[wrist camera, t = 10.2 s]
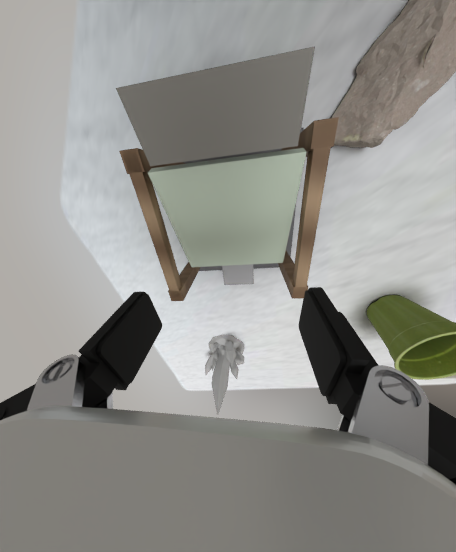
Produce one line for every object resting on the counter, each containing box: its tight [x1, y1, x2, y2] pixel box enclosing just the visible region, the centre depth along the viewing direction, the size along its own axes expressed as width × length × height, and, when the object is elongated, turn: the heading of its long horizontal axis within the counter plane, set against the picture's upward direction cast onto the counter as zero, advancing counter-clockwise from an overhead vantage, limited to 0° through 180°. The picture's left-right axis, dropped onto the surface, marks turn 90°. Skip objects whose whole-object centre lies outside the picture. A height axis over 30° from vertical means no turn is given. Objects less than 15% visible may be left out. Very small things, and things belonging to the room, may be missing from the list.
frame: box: [120, 117, 339, 301], centre depth 22 cm, size 16×17×13 cm
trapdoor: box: [116, 47, 315, 267], centre depth 16 cm, size 17×13×3 cm
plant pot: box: [367, 295, 456, 379], centre depth 29 cm, size 12×12×11 cm
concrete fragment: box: [332, 0, 456, 148], centre depth 16 cm, size 7×14×6 cm, turn 149°
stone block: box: [222, 264, 254, 285], centre depth 28 cm, size 5×5×5 cm
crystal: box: [205, 335, 244, 414], centre depth 38 cm, size 10×13×15 cm
